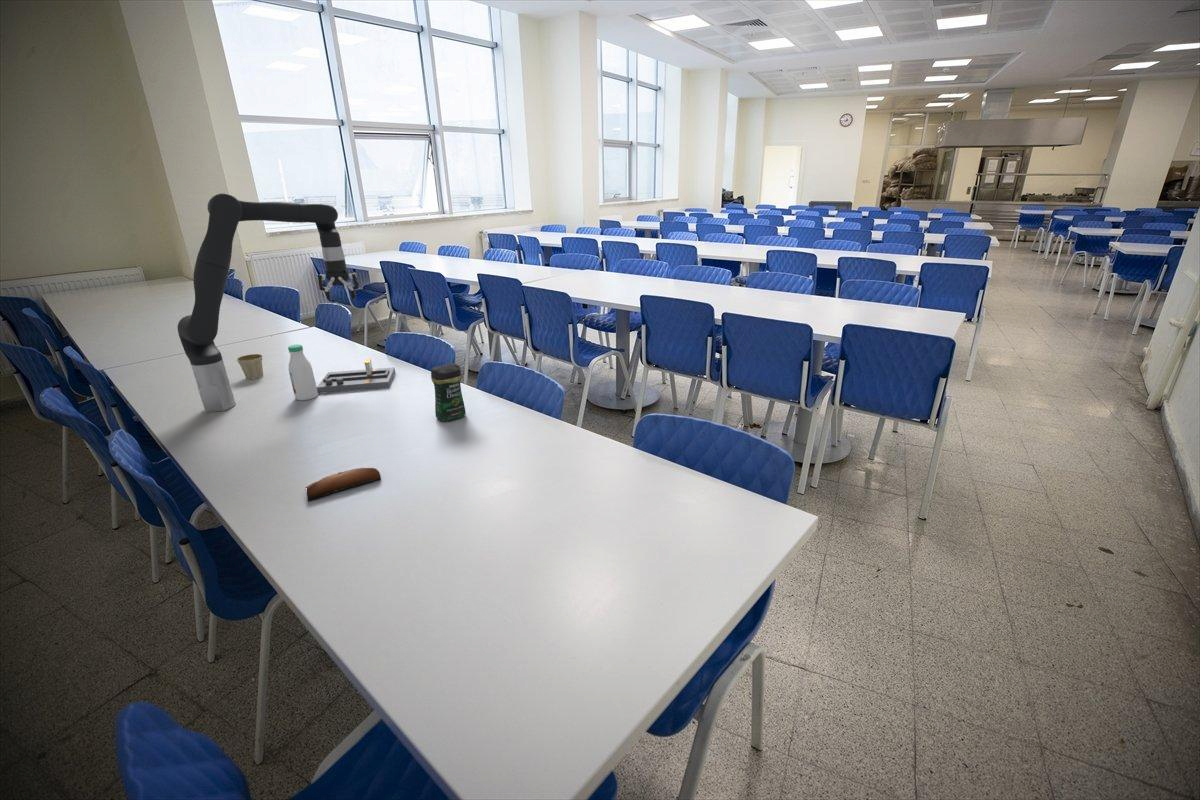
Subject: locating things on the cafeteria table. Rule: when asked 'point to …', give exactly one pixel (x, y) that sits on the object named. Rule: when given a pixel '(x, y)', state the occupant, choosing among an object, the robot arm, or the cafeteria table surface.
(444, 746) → the cafeteria table surface
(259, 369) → the flower pot
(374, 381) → the console
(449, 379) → the coffee jar
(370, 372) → the fader tab
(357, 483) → the sunglasses case
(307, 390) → the milk bottle
